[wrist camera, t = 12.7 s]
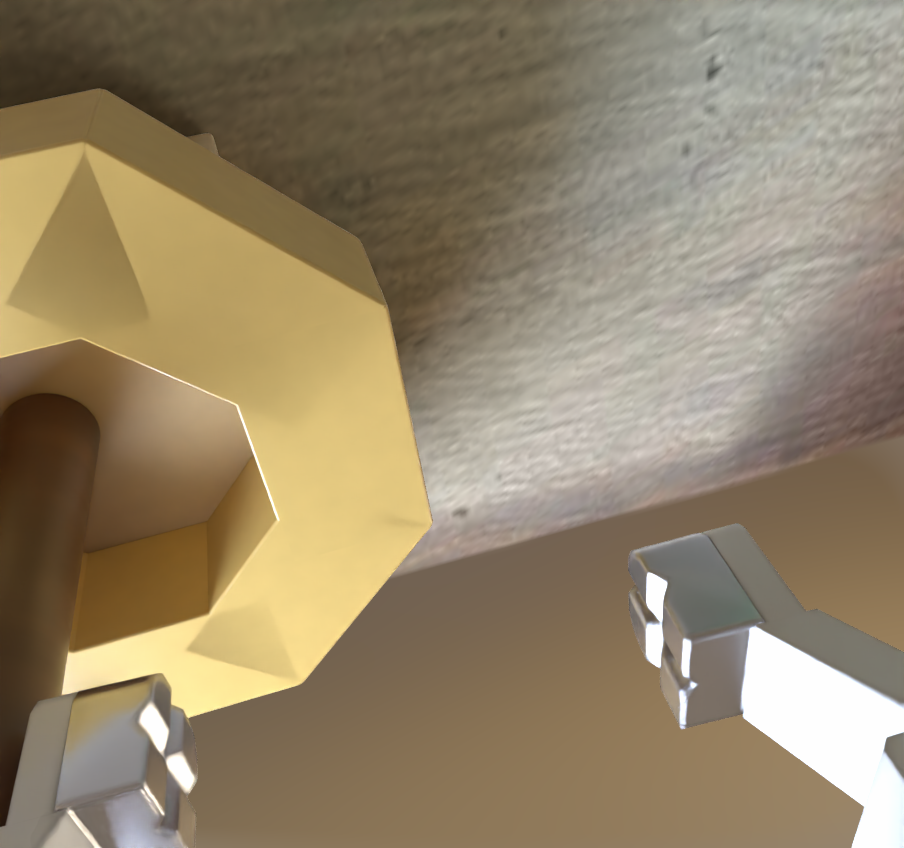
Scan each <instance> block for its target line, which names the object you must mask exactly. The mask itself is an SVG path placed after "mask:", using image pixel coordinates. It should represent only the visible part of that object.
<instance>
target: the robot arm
mask: <svg viewBox="0 0 904 848" xmlns="http://www.w3.org/2000/svg"><path fill="white" fill-rule="evenodd" d="M628 570H629V573H630V575H631V576H632V579H633V580H634V582H635V586H634V587H633V588H632V589H631V591H630V592H629V611H630V615H631V620H632V625H633V629H634V632H635V635H636V637H637V640H638V643H639V645H640V647H641V649H642V651H643V653H644V655H645V658H646V660H648V661H650V662H651V663H653V664H655V665H656V666H658V667H660V688H661V690H662V692H663V694H664V696H665V698H666V700H667V702H668V704H669V706H670V708H671V709H672V712H673V714H674V715H675V717H676V720H677V722H678V724H679V726H680V727H681V729H684V728H688V727H692V726H696V725H700V724H704V723H708V722H712V721H716V720H721V719H725V718H729V717H733V716H737V715H740V714H743V718H745V719H746V720H747V721H749V722H750V723H752V724H753V725H755V726H756V727H757V728H758V729H760V730H761V731H762V732H764V733H765V734H766V735H768V736H769V737H770V738H772V739H773V740H775V741H776V742H777V743H779V744H780V745H782V746H783V747H784V748H785V749H787V750H788V751H790V752H791V753H792V754H794V755H795V756H796V757H798V758H799V759H800V760H802V761H803V762H805V763H806V764H807V765H809V766H810V767H811V768H813V769H814V770H815V771H817V772H818V773H820V774H821V775H822V776H824V777H825V778H826V779H828V780H829V781H830V782H832V783H833V784H835V785H836V786H837V787H839V788H840V789H841V790H843V791H844V792H845V793H847V794H848V795H850V796H851V797H852V798H854V799H855V800H856V801H858V802H859V803H860V804H862V805H863V806H864V810H863V813H862V816H861V819H860V823H859V826H858V829H857V832H856V835H855V838H854V842H853V845H852V848H904V652H902V651H901V650H899V649H897V648H895V647H892V646H890V645H888V644H886V643H884V642H882V641H880V640H878V639H876V638H874V637H872V636H870V635H868V634H866V633H864V632H862V631H860V630H858V629H856V628H854V627H852V626H850V625H848V624H846V623H844V622H842V621H840V620H838V619H836V618H834V617H832V616H830V615H828V614H826V613H824V612H822V611H820V610H818V609H814V610H810V611H806V610H805V609H804V608H803V607H802V605H801V604H800V602H799V601H798V600H797V598H796V597H795V595H794V594H793V593H792V591H791V590H790V589H789V588H788V586H787V585H786V583H785V582H784V580H783V579H782V578H781V576H780V575H779V574H778V572H777V571H776V570H775V568H774V567H773V565H772V564H771V563H770V561H769V560H768V559H767V557H766V556H765V555H764V553H763V552H762V551H761V549H760V548H759V546H758V545H757V544H756V542H755V541H754V540H753V538H752V537H751V535H750V534H749V533H748V531H747V530H746V529H745V527H743V526H741V525H739V524H738V523H736V524H733V525H728V526H725V527H721V528H717V529H713V530H709V531H705V532H702V533H696V534H692V535H688V536H685V537H681V538H677V539H673V540H669V541H666V542H662V543H658V544H655V545H651V546H647V547H643V548H640V549H636V550H632V551H631V553H630V555H629V568H628ZM171 696H172V688H171V686H170V684H169V683H168V681H167V679H166V678H165V676H164V675H163V673H155V674H151V675H147V676H142V677H138V678H134V679H129V680H125V681H121V682H116V683H112V684H108V685H103V686H99V687H94V688H90V689H86V690H81V691H78V692H74V693H70V694H66V695H62V696H58V697H53V698H49V699H45V700H41V701H38V702H37V704H36V705H35V707H34V709H33V710H32V712H31V713H30V716H29V721H28V725H27V730H26V734H25V739H24V743H23V748H22V753H21V757H20V762H19V766H18V771H17V775H16V780H15V785H14V789H13V794H12V798H11V803H10V807H9V812H8V816H7V821H6V826H2V827H0V848H195V834H196V812H195V810H194V809H193V807H192V805H191V803H190V802H189V800H188V798H187V795H188V794H189V792H190V791H191V789H192V788H193V786H194V784H195V783H196V781H197V752H196V745H195V738H194V734H193V731H192V728H191V724H190V722H189V719H188V717H187V715H186V713H185V711H184V710H183V709H182V708H179V707H177V706H175V705H172V704H171Z"/></svg>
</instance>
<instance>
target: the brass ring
mask: <svg viewBox="0 0 904 848" xmlns="http://www.w3.org/2000/svg"><path fill="white" fill-rule="evenodd" d="M77 339H83V340H85V341H87V342H90V343H92V344H94V345H97V346H99V347H101V348H104V349H106V350H108V351H111V352H113V353H115V354H118V355H120V356H122V357H124V358H127V359H129V360H131V361H134V362H136V363H138V364H141V365H143V366H145V367H148V368H150V369H152V370H155V371H157V372H159V373H162V374H164V375H166V376H168V377H171V378H173V379H175V380H178V381H180V382H182V383H185V384H187V385H189V386H192V387H194V388H196V389H199V390H201V391H203V392H206V393H208V394H210V395H213V396H215V397H217V398H219V399H222V400H224V401H226V402H229V403H231V404H233V405H236V408H237V410H238V413H239V416H240V419H241V421H242V424H243V427H244V430H245V433H246V435H247V438H248V441H249V444H250V446H251V449H252V452H253V455H252V457H251V458H250V460H249V461H248V463H247V464H246V466H245V467H244V469H243V470H242V471H241V473H240V474H239V476H238V477H237V479H236V480H235V482H234V483H233V484H232V486H231V487H230V489H229V490H228V492H227V493H226V495H225V496H224V498H223V499H222V500H221V502H220V503H219V505H218V506H217V508H216V509H215V511H214V512H213V514H212V515H211V516H210V518H209V519H208V521H206V522H202V523H198V524H195V525H191V526H187V527H183V528H180V529H176V530H172V531H169V532H165V533H161V534H158V535H154V536H150V537H146V538H143V539H139V540H135V541H132V542H128V543H124V544H120V545H117V546H113V547H109V548H106V549H102V550H98V551H95V552H91V553H85V552H83V556H82V563H81V570H80V576H79V583H78V590H77V596H76V603H75V610H74V616H73V623H72V630H71V636H70V643H69V649H68V656H67V663H66V669H65V676H64V683H63V689H62V695H66V694H70V693H74V692H78V691H81V690H86V689H90V688H94V687H99V686H103V685H108V684H112V683H116V682H121V681H125V680H129V679H134V678H138V677H142V676H147V675H151V674H155V673H163V675H164V676H165V678H166V679H167V681H168V683H169V684H170V686H171V688H172V696H171V704H172V705H175V706H177V707H179V708H182V709H183V710H184V711H185V713H186V715H187V717H192V716H195V715H198V714H202V713H205V712H209V711H212V710H215V709H219V708H222V707H225V706H228V705H232V704H235V703H239V702H242V701H246V700H249V699H253V698H256V697H259V696H263V695H266V694H269V693H273V692H276V691H279V690H283V689H286V688H290V687H293V686H296V685H300V684H301V683H303V682H304V681H305V680H306V678H307V677H308V676H309V675H310V674H311V672H312V671H313V670H314V669H315V667H316V666H317V665H318V664H319V662H320V661H321V660H322V659H323V658H324V656H325V655H326V654H327V653H328V651H329V650H330V649H331V648H332V647H333V645H334V644H335V643H336V642H337V640H338V639H339V638H340V637H341V636H342V634H343V633H344V632H345V631H346V630H347V628H348V627H349V626H350V625H351V623H352V622H353V621H354V620H355V619H356V617H357V616H358V615H359V614H360V612H361V611H362V610H363V609H364V608H365V606H366V605H367V604H368V603H369V602H370V600H371V599H372V598H373V597H374V595H375V594H376V593H377V592H378V591H379V589H380V588H381V587H382V586H383V584H384V583H385V582H386V581H387V580H388V578H389V577H390V576H391V575H392V573H393V572H394V571H395V570H396V569H397V567H398V566H399V565H400V564H401V562H402V561H403V560H404V559H405V558H406V556H407V555H408V554H409V553H410V551H411V550H412V549H413V548H414V547H415V545H416V544H417V543H418V542H419V540H420V539H421V538H422V537H423V536H424V534H425V533H426V532H427V531H428V529H429V528H430V527H431V525H432V523H433V519H432V515H431V510H430V505H429V500H428V496H427V491H426V486H425V481H424V477H423V472H422V467H421V462H420V458H419V453H418V448H417V443H416V439H415V434H414V429H413V424H412V420H411V415H410V410H409V405H408V400H407V396H406V391H405V386H404V381H403V377H402V372H401V367H400V362H399V358H398V353H397V348H396V343H395V339H394V334H393V329H392V324H391V320H390V315H389V310H388V306H387V303H386V301H385V298H384V296H383V294H382V291H381V289H380V286H379V284H378V281H377V279H376V277H375V274H374V272H373V269H372V267H371V264H370V262H369V260H368V257H367V255H366V252H365V250H364V247H363V245H362V242H361V241H360V240H359V239H358V238H357V237H355V236H354V235H352V234H350V233H349V232H347V231H345V230H343V229H342V228H340V227H338V226H337V225H335V224H333V223H332V222H330V221H328V220H326V219H325V218H323V217H321V216H320V215H318V214H316V213H315V212H313V211H311V210H309V209H308V208H306V207H304V206H303V205H301V204H299V203H298V202H296V201H294V200H292V199H291V198H289V197H287V196H286V195H284V194H282V193H280V192H279V191H277V190H275V189H274V188H272V187H270V186H269V185H267V184H265V183H263V182H262V181H260V180H258V179H257V178H255V177H253V176H252V175H250V174H248V173H246V172H245V171H243V170H241V169H240V168H238V167H236V166H235V165H233V164H231V163H229V162H228V161H226V160H224V159H223V158H221V157H219V156H218V155H216V154H214V153H212V152H211V151H209V150H207V149H206V148H204V147H202V146H201V145H199V144H197V143H195V142H194V141H192V140H190V139H189V138H187V137H185V136H183V135H182V134H180V133H178V132H177V131H175V130H173V129H172V128H170V127H168V126H166V125H165V124H163V123H161V122H160V121H158V120H156V119H155V118H153V117H151V116H149V115H148V114H146V113H144V112H143V111H141V110H139V109H138V108H136V107H134V106H132V105H131V104H129V103H127V102H126V101H124V100H122V99H121V98H119V97H117V96H115V95H114V94H112V93H110V92H109V91H107V90H103V89H99V88H98V89H93V90H88V91H83V92H79V93H74V94H69V95H64V96H59V97H54V98H50V99H45V100H40V101H35V102H30V103H26V104H21V105H16V106H11V107H6V108H2V109H0V358H3V357H7V356H11V355H15V354H19V353H23V352H27V351H32V350H36V349H40V348H44V347H48V346H52V345H57V344H61V343H65V342H69V341H73V340H77Z"/></svg>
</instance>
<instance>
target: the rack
mask: <svg viewBox="0 0 904 848" xmlns="http://www.w3.org/2000/svg"><path fill="white" fill-rule="evenodd" d="M187 138H189V139H190V140H192V141H194V142H195V143H197V144H199V145H201V146H202V147H204V148H206V149H207V150H209V151H211V152H212V153H214V154H216V155H218V156H219V154H218V151H217V148H216V144H215V141H214V138H213V136H212V134H210V133H204V134H199V135H194V136H189V137H187ZM252 455H253V452H252V449H251V446H250V444H249V441H248V438H247V435H246V433H245V430H244V427H243V424H242V421H241V419H240V416H239V413H238V410H237V408H236V405H233V404H231V403H229V402H226V401H224V400H222V399H219V398H217V397H215V396H213V395H210V394H208V393H206V392H203V391H201V390H199V389H196V388H194V387H192V386H189V385H187V384H185V383H182V382H180V381H178V380H175V379H173V378H171V377H168V376H166V375H164V374H162V373H159V372H157V371H155V370H152V369H150V368H148V367H145V366H143V365H141V364H138V363H136V362H134V361H131V360H129V359H127V358H124V357H122V356H120V355H118V354H115V353H113V352H111V351H108V350H106V349H104V348H101V347H99V346H97V345H94V344H92V343H90V342H87V341H85V340H83V339H77V340H73V341H69V342H65V343H61V344H57V345H52V346H48V347H44V348H40V349H36V350H32V351H27V352H23V353H19V354H15V355H11V356H7V357H3V358H0V827H2V826H6V821H7V816H8V812H9V807H10V803H11V798H12V794H13V789H14V785H15V780H16V775H17V771H18V766H19V762H20V757H21V753H22V748H23V743H24V739H25V734H26V730H27V725H28V721H29V716H30V713H31V712H32V710H33V709H34V707H35V705H36V704H37V702H38V701H41V700H45V699H49V698H53V697H58V696H62V689H63V683H64V676H65V669H66V663H67V656H68V649H69V643H70V636H71V630H72V623H73V616H74V610H75V603H76V596H77V590H78V583H79V576H80V570H81V563H82V556H83V552H85V553H91V552H95V551H98V550H102V549H106V548H109V547H113V546H117V545H120V544H124V543H128V542H132V541H135V540H139V539H143V538H146V537H150V536H154V535H158V534H161V533H165V532H169V531H172V530H176V529H180V528H183V527H187V526H191V525H195V524H198V523H202V522H206V521H208V519H209V518H210V516H211V515H212V514H213V512H214V511H215V509H216V508H217V506H218V505H219V503H220V502H221V500H222V499H223V498H224V496H225V495H226V493H227V492H228V490H229V489H230V487H231V486H232V484H233V483H234V482H235V480H236V479H237V477H238V476H239V474H240V473H241V471H242V470H243V469H244V467H245V466H246V464H247V463H248V461H249V460H250V458H251V457H252Z"/></svg>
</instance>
